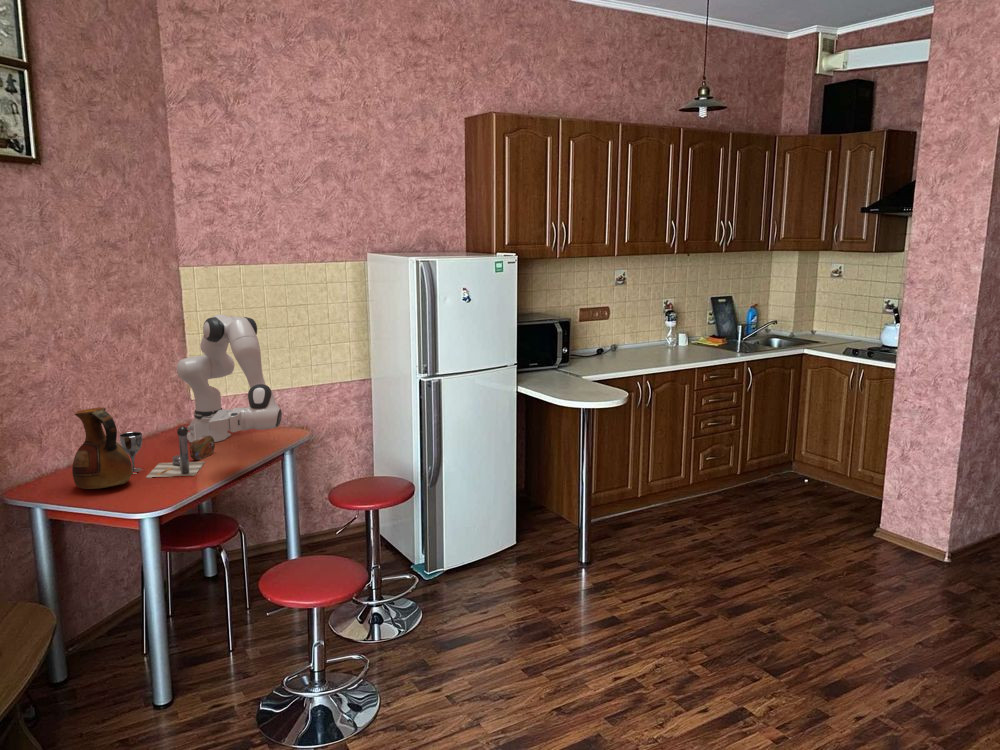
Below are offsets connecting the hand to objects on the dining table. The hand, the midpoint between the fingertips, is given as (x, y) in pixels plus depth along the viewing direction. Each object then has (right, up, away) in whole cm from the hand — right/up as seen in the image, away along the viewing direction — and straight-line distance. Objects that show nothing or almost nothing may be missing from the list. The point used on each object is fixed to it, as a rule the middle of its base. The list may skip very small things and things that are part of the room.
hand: (201, 420), depth 297 cm
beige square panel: (-13, -21, +9) cm, 26 cm away
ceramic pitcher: (-32, -24, -11) cm, 42 cm away
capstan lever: (-11, -19, +10) cm, 24 cm away
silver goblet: (-30, -21, +7) cm, 37 cm away
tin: (-10, -17, +27) cm, 34 cm away
